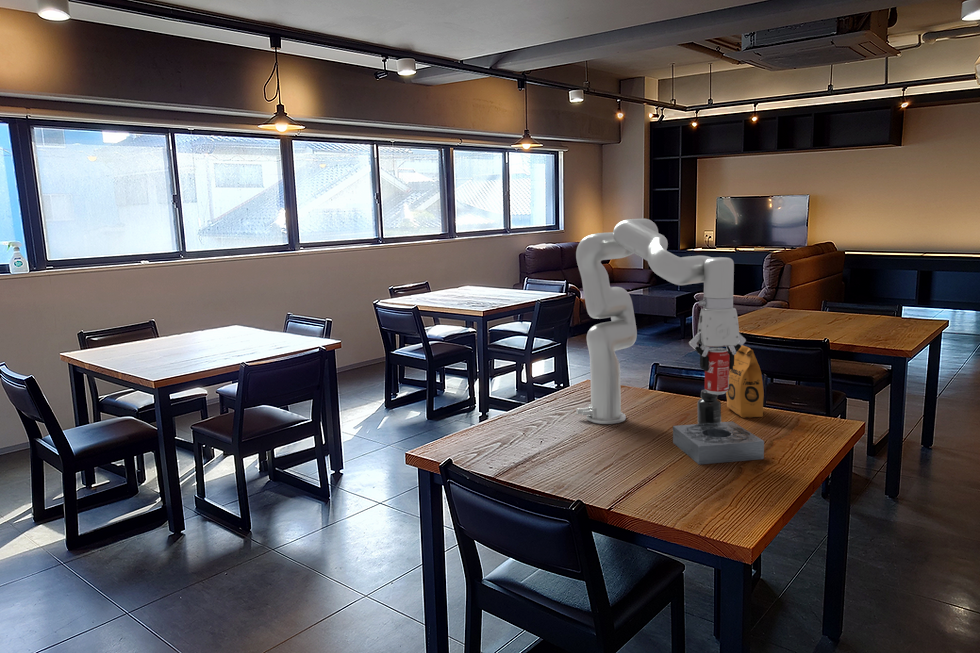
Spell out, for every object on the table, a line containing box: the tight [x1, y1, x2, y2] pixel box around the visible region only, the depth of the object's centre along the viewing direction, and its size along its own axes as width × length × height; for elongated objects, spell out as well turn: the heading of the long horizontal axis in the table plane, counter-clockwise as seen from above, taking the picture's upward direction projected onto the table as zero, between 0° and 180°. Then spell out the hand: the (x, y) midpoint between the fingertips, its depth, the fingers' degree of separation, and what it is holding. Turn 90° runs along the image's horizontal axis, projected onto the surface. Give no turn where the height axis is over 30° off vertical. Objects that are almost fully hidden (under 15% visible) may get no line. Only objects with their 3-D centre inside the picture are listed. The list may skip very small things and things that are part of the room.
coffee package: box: [725, 344, 765, 419], centre depth 221 cm, size 10×12×22 cm
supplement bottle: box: [697, 389, 722, 424], centre depth 207 cm, size 7×7×12 cm
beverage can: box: [704, 347, 730, 396], centre depth 186 cm, size 6×6×12 cm
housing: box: [672, 420, 765, 466], centre depth 189 cm, size 18×18×5 cm
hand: (716, 368), depth 186 cm, fingers closed on beverage can, 6 cm apart
